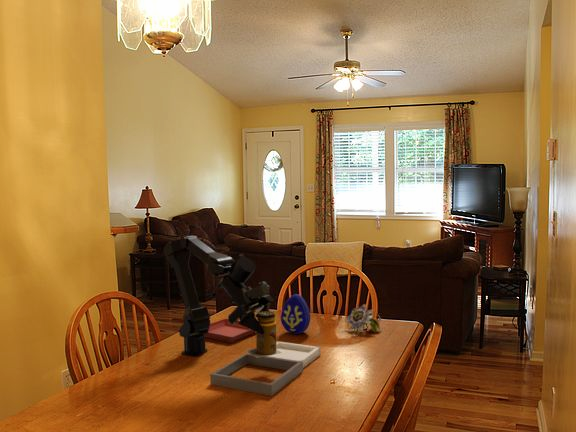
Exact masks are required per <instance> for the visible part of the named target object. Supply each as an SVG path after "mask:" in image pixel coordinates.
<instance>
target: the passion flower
mask: <svg viewBox="0 0 576 432" xmlns="http://www.w3.org/2000/svg"><path fill="white" fill-rule="evenodd" d="M366 308H367V306H366V303H364V304H362V306H359V307H354V308H353V309H352V310H351V311H350V314H349V315H348V317H347V318H345V319H344V322H345V323H349V324H350V325H351V326H350V329H351V330H353V329H354V330H353V332H354V333H357V332H358V331H359V330H360V331H364V329H365V326H366V328H367V329H368V328H369V327H368V325H370V327H371V329H372V331H373V333H376V334H377V331H378V330H380V324H379V322H378V321H377V320H376V319H374V318H375V317H377V318H378V319H379V321H381V320H382V319H381V318H382V317H380V315H379V314H376V315H372V314H373V312H374V309H368V310H367V309H366ZM377 329H378V330H377Z"/></svg>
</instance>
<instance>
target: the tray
mask: <svg viewBox="0 0 576 432" xmlns="http://www.w3.org/2000/svg"><path fill="white" fill-rule="evenodd" d="M276 350H278V351H280V352H282V353H280V354H275V355H270V356H268V357H275V358H281V359H287V360H294V361H300V362H303V369H304V368H305V367H307V366H308V365H309V364H310V363H312V362H313V361H314V360H315V359H317V358H318V357H319V356H321V346H314V345H306V344H299V343H293V342H287V341H285V342H284V341H279V340H277V341H276Z"/></svg>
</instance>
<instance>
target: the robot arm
mask: <svg viewBox="0 0 576 432" xmlns="http://www.w3.org/2000/svg"><path fill="white" fill-rule="evenodd" d="M191 254H193V255H194V256H196V257H197V259H200V260H201V261H202V262H203V263H204V264H205V265H206V269H207V271H208V272H209V273H210V274H211V275H212V276H213V277H221V276H223V277H222V278H220V279H218V280H217V285H216V288H217V290H220V289H222V288H223V290H224V291H225V292H226V293H227V295H228V296H229V297H230V300H229V302H230V303H231V304H233V303H234V304H235V305H236V307H235V308H234V309H233V311H231V312H230V313H229V314H228V316H227V319H228V321H229V322H230V323H231V325H234V324H236V323H237V322H238V321H240V322H239V323H238V325H242V326H245V327H247V328H249V329H251V330H253V331H255V333H256V332H257V333H259V334H261V335H263V334H264V330H263V328H262V327H261V325H260V324H259V322H258V320H257V318H258V313H259V312H263V311H270V306H271V304H272V303H273V302H274V297H272V295H270V288H271V286H270V285H269V284H268V282H266V281H261V282H259V283H257V286H256V287H253V288H252V287H251V286H250V285H249V286H246V285H245V283H246V282H247V280H249V278H250V277H251V275H252V274H253V273H254V272H255V271H256V269H257V267H256V266H257V265H256V263H255V262H254V261H253V260H252V259H250V258H249V257H246V256H245V254H239V255H237V256H236V259H235V260H234V258H232V257H231V256H229V255H227V254H225V253H220V252H217V251H215V250H213V248H211V247H209V246H208V245H207V244H206V243H204V242H203V241H201V239H199V237H197V235H184V236H182V237H180V238H179V239H176V240H174V241H169V242H167V243H166V244H165V246H164V248H163V255H164V256H165V259H166V261H167V264H169V265H170V266H171V267H172V268H173V269H174V272H175V276H176V280H177V283H178V287H179V291H180V294H181V297H182V302H183V305H184V312H183V316H182V319H183V323H182V324H181V326H180V328H179V329H178V332H179V337H182V338H183V348H184V349H183V351H181V355H187V356H193V357H198V356H200V355H202V354H204V353H206V352H208V348H206V338H205V337H204V334H207V333H208V331H209V326H210V324H211V316H210V314H209V309H208V308H207V307H206V306H202V305H201V304H200V301H199V297H198V294H197V290H196V287H195V282H194V280H193V277H192V276H193V275H192V272H191V269H190V266H189V262H190V259H191Z"/></svg>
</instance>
